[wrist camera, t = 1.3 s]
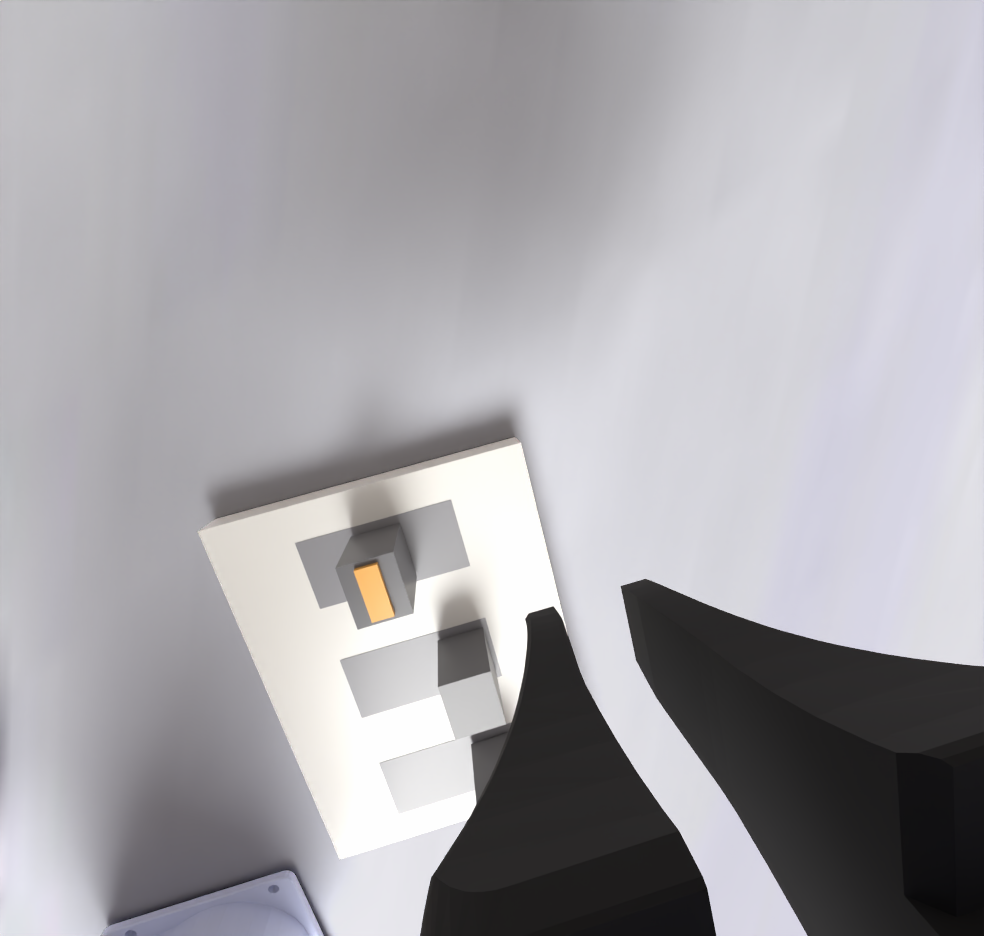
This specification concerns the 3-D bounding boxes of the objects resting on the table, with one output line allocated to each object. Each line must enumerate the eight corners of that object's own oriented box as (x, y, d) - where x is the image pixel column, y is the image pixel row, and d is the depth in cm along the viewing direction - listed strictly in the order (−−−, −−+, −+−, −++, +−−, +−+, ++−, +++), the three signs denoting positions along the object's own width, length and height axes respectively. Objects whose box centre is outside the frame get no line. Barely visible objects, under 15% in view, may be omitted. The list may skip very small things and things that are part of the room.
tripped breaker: (369, 589, 19) (356, 632, 16) (351, 536, 19) (333, 570, 16) (416, 576, 20) (413, 616, 16) (399, 522, 19) (392, 554, 16)
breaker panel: (345, 829, 24) (324, 939, 19) (215, 518, 20) (148, 566, 15) (592, 751, 25) (628, 840, 20) (514, 436, 20) (537, 458, 16)
